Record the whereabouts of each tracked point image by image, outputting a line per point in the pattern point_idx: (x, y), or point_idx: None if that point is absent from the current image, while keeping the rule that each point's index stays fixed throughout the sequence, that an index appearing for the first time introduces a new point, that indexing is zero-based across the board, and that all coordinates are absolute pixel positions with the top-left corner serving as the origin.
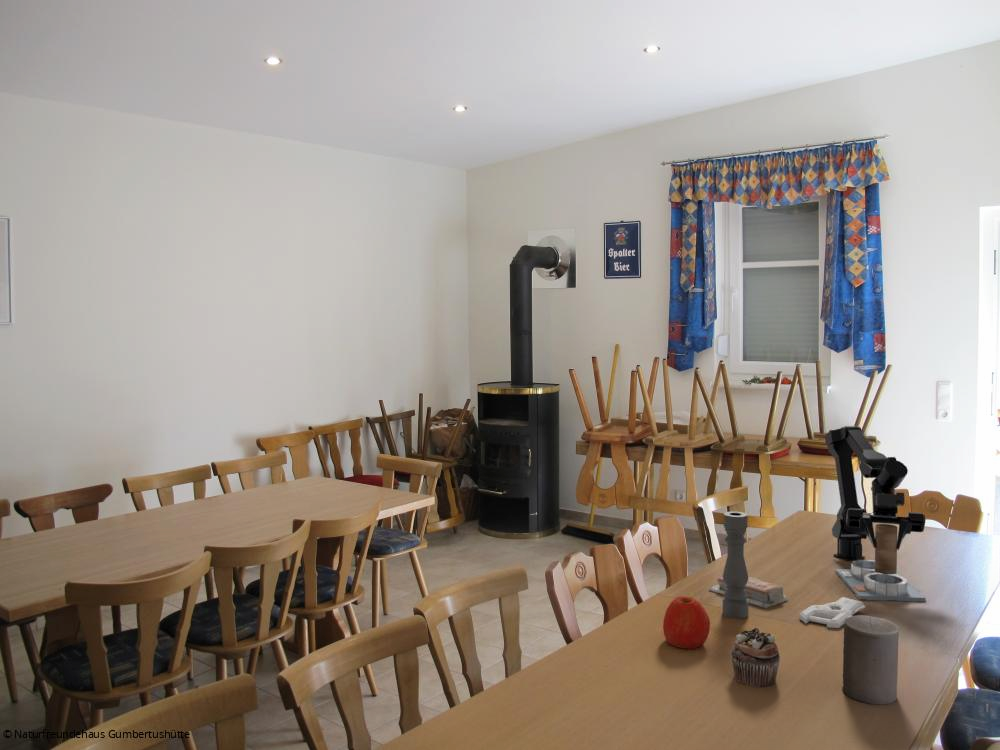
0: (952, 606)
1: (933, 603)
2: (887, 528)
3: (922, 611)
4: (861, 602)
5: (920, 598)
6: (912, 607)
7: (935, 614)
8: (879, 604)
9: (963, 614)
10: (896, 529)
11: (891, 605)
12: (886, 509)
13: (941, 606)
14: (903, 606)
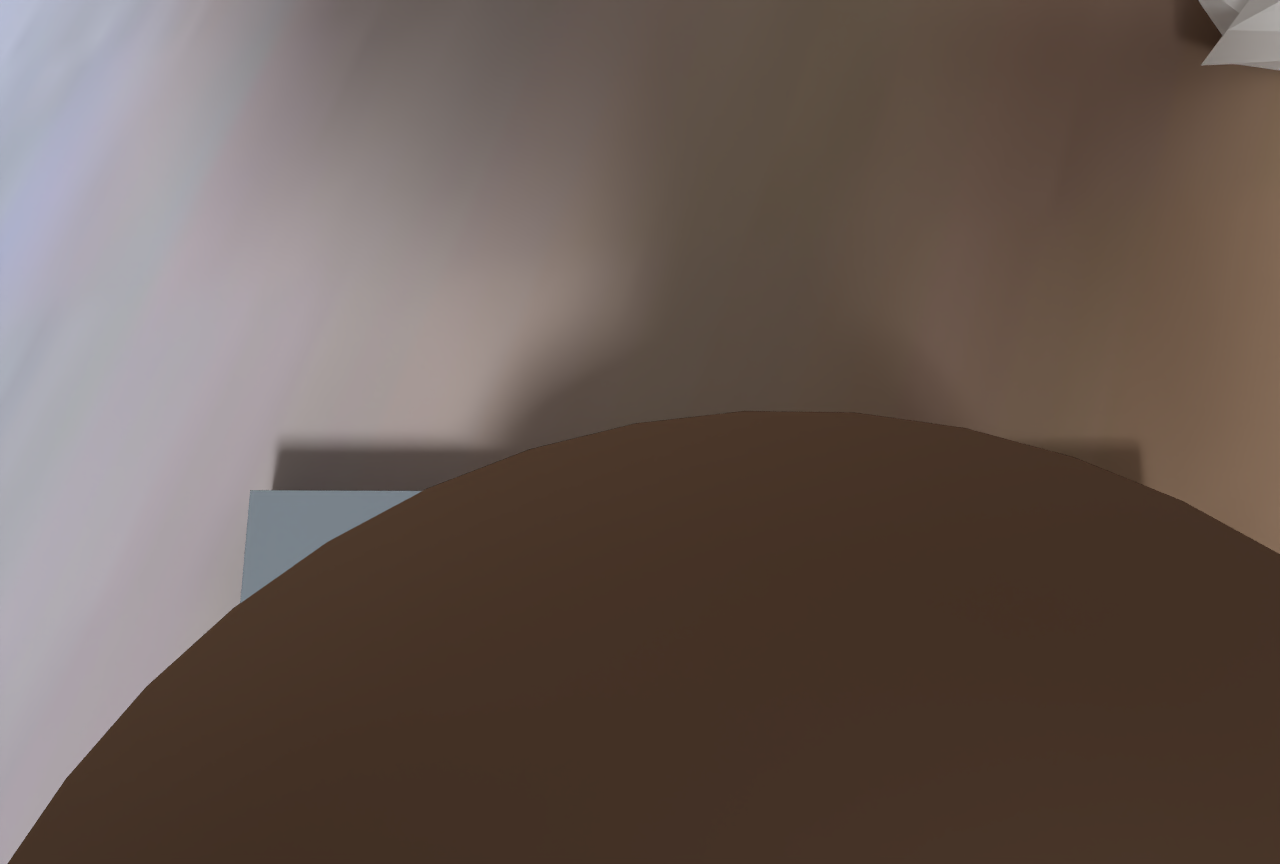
0: (10, 355)
1: (195, 447)
2: (924, 557)
3: (464, 142)
4: (1259, 3)
5: (323, 494)
6: (529, 269)
7: (354, 60)
8: (916, 339)
9: (30, 93)
10: (183, 697)
11: (771, 317)
12: None
13: (149, 341)
14: (630, 294)
